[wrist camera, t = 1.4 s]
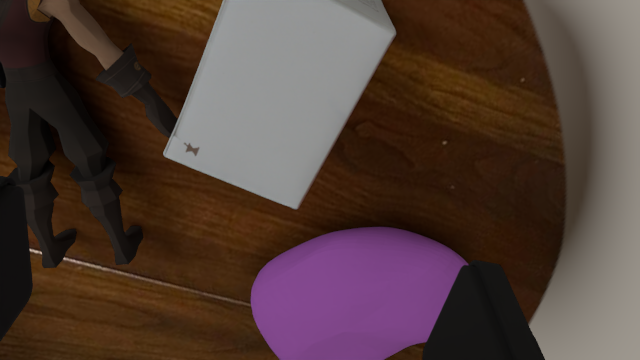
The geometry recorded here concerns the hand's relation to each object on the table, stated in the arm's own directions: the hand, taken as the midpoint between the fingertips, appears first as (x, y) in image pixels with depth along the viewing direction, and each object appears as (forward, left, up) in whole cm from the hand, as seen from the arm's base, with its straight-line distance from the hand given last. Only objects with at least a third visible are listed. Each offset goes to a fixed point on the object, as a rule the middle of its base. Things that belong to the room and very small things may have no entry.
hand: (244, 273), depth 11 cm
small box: (-1, 0, -19) cm, 19 cm away
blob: (+16, +8, -19) cm, 26 cm away
